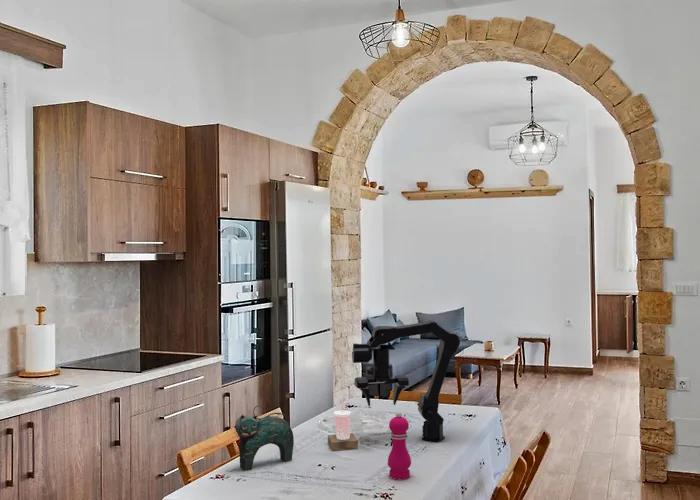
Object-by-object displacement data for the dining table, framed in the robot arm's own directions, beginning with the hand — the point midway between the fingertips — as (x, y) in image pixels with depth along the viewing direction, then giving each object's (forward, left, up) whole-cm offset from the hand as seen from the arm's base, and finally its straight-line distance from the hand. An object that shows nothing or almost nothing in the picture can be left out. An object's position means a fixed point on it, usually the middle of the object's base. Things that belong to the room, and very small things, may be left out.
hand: (381, 405), depth 259 cm
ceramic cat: (+23, +39, -13) cm, 47 cm away
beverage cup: (+10, +11, -10) cm, 18 cm away
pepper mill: (-21, +29, -13) cm, 38 cm away
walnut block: (+10, +11, -13) cm, 20 cm away
